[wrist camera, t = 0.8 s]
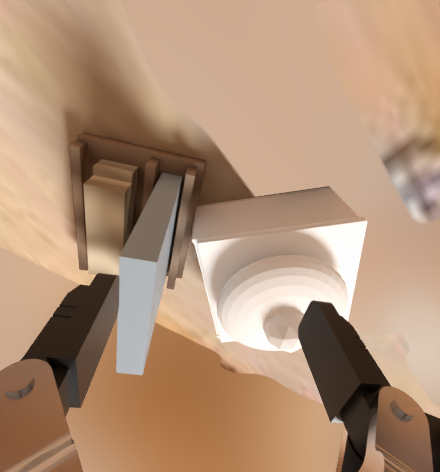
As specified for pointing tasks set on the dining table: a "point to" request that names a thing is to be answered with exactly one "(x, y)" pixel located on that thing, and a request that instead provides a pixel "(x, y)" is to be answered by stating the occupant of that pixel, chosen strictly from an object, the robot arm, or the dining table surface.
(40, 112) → the dining table surface
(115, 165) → the offcut lower
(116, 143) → the walnut rack
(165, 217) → the grey board
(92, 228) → the offcut upper
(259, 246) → the butter dish
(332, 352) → the robot arm
